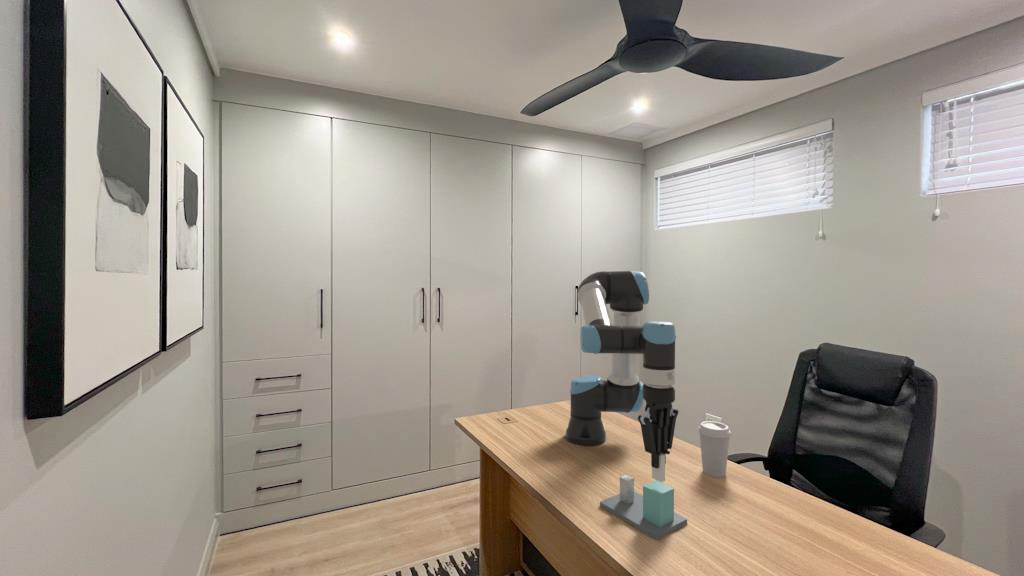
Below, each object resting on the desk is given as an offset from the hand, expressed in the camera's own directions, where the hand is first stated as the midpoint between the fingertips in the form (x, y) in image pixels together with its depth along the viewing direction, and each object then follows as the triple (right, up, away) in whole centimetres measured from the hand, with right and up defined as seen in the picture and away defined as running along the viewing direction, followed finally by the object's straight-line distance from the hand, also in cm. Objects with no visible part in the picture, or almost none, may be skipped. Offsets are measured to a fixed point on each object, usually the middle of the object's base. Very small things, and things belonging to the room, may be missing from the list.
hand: (658, 479), depth 105 cm
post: (-6, -10, +9) cm, 14 cm away
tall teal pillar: (0, -10, 0) cm, 10 cm away
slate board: (-3, -11, +5) cm, 12 cm away
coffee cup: (+27, -11, +28) cm, 41 cm away
